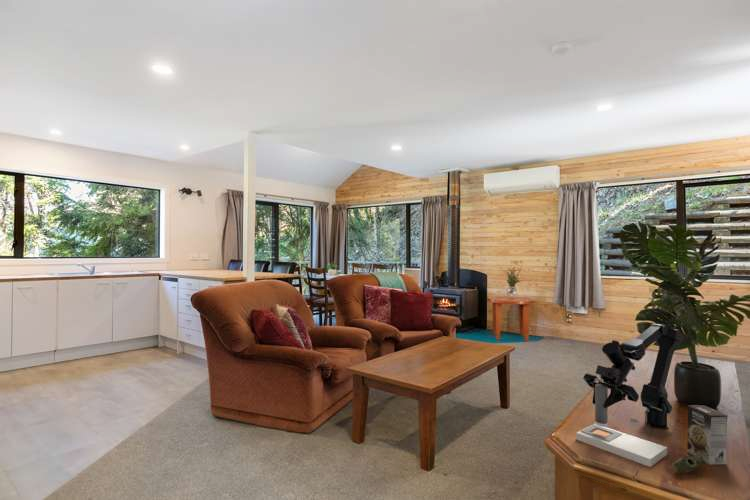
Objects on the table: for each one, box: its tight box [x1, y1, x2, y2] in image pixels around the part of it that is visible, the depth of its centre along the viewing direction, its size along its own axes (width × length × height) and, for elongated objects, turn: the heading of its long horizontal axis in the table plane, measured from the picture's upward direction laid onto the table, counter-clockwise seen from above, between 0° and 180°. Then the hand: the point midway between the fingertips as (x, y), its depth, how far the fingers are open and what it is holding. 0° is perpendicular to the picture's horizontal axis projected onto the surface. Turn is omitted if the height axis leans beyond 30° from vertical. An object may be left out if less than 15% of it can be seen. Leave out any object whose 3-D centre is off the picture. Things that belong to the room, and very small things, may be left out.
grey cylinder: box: [594, 384, 609, 427], centre depth 153 cm, size 4×4×14 cm
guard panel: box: [575, 423, 668, 468], centre depth 148 cm, size 24×14×3 cm, turn 37°
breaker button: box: [592, 429, 611, 437], centre depth 154 cm, size 5×5×2 cm
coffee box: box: [686, 404, 728, 466], centre depth 141 cm, size 9×6×16 cm
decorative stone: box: [671, 455, 704, 474], centre depth 132 cm, size 11×8×5 cm
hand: (598, 405), depth 153 cm, fingers closed on grey cylinder, 4 cm apart
